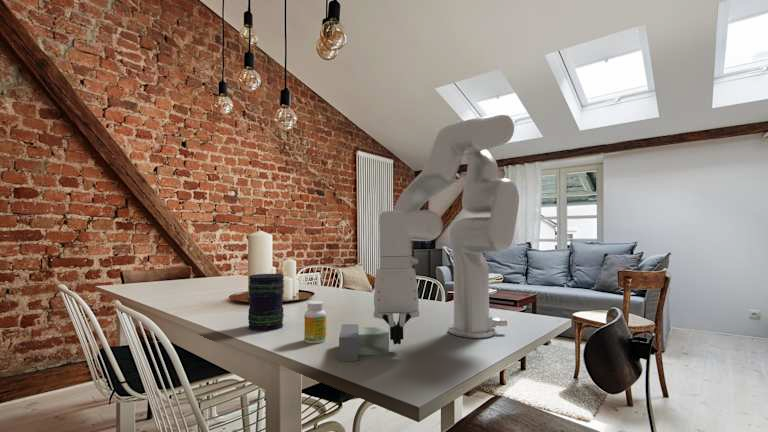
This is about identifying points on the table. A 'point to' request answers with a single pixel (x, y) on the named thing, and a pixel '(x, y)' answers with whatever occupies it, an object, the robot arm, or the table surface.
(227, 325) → the table surface
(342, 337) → the gray rectangular block
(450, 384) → the table surface
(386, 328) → the sage block
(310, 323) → the supplement bottle
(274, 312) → the storage jar
